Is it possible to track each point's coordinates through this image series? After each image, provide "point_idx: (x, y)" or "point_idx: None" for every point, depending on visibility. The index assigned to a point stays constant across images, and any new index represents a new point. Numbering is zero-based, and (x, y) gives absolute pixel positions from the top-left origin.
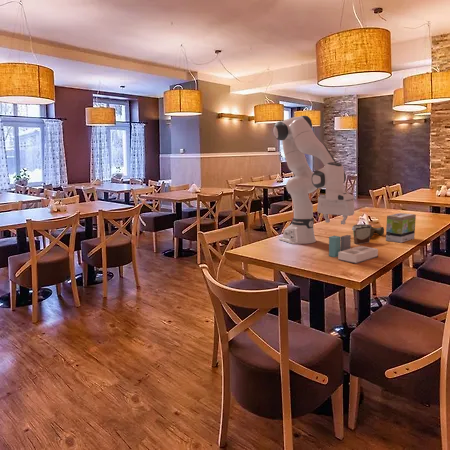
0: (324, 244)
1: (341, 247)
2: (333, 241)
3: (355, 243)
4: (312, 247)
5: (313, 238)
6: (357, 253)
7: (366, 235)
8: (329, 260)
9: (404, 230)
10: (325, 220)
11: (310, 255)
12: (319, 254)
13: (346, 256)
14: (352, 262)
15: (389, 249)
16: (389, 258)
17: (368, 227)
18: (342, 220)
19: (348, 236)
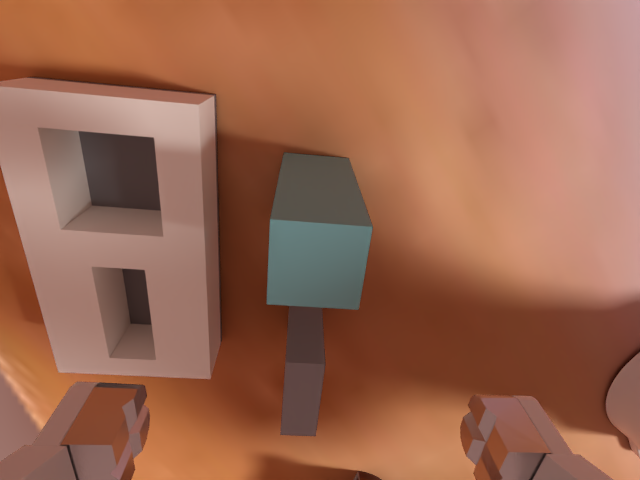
0: (527, 390)
1: None
2: (302, 202)
3: (370, 477)
4: (574, 295)
5: (633, 414)
6: (38, 166)
7: None
8: (263, 30)
9: None
10: (548, 422)
11: (491, 78)
12: (438, 156)
13: (110, 91)
14: (65, 81)
15: (162, 474)
16: (13, 338)
17: None
18: (51, 453)
19: (282, 408)
